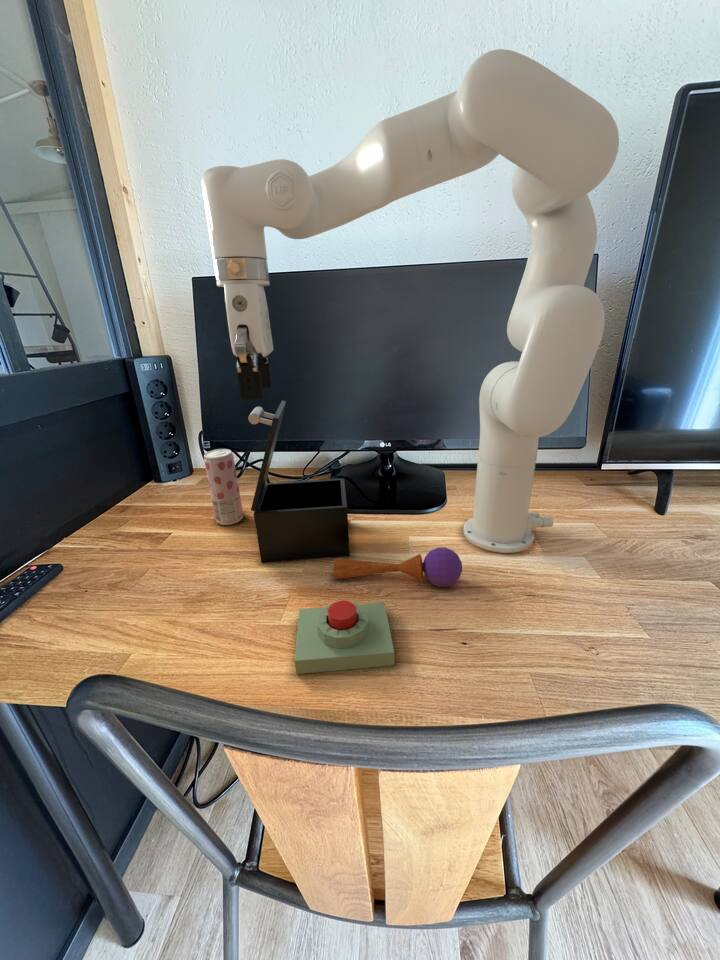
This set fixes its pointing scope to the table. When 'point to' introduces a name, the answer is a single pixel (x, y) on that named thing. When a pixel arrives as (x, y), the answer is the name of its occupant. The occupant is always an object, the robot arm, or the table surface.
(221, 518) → the beverage can
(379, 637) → the control block
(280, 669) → the table surface
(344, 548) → the black box
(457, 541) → the table surface
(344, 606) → the button
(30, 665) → the table surface
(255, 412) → the lid
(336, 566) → the kendama
